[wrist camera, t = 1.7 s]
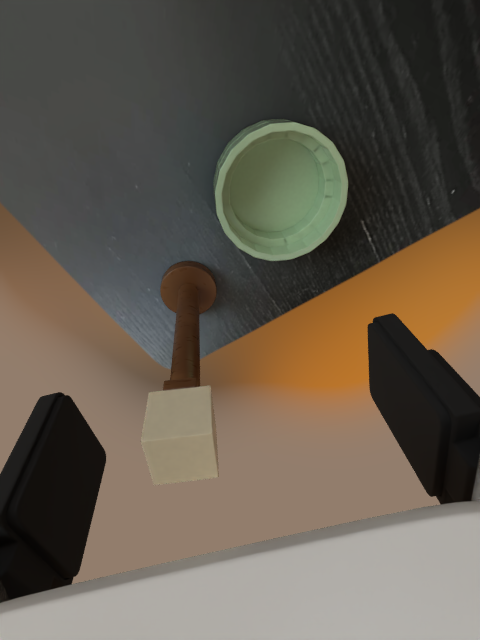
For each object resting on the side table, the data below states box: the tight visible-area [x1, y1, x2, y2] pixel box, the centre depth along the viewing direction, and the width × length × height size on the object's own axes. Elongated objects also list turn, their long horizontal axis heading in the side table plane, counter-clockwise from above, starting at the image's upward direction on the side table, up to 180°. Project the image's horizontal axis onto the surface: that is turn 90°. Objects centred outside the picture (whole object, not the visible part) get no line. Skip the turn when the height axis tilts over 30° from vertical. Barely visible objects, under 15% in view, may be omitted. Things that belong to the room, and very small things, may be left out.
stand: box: [160, 261, 217, 391], centre depth 33 cm, size 6×6×19 cm
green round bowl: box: [213, 119, 348, 261], centre depth 34 cm, size 12×12×5 cm
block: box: [141, 386, 219, 485], centre depth 23 cm, size 4×4×4 cm
